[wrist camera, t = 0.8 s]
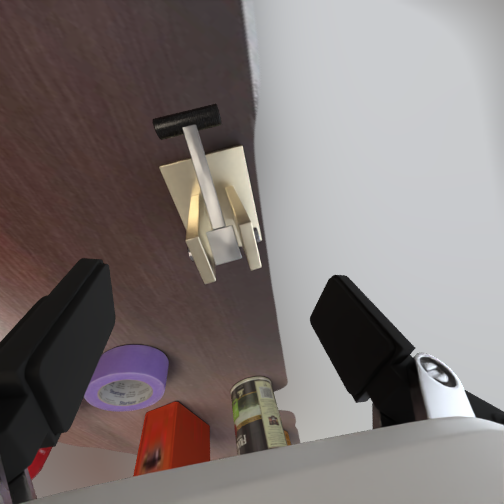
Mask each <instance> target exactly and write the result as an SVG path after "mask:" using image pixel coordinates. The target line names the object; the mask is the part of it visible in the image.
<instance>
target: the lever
mask: <svg viewBox="0 0 504 504" xmlns="http://www.w3.org/2000/svg"><path fill="white" fill-rule="evenodd" d="M153 125H154V128H155V131H156V133H157V135H158V137H159V138H160V139H161V140H163V139H167V138H171V137H175V136H179V135H183V134H184V136H185V139H186V142H187V146H188V149H189V152H190V156H191V159H192V162H193V166H194V169H195V172H196V175H197V179H198V182H199V185H200V189H201V192H202V195H203V198H204V202H205V205H206V208H207V212H208V215H209V218H210V222H211V225H212V228H213V230H212V231H208V232H206V235H207V238H208V242H209V245H210V248H211V251H212V255H213V258H214V261H215V264H216V265H220V264H223V263H227V262H230V261H234V260H237V259H241V258H242V256H241V252H240V249H239V246H238V242H237V239H236V235H235V232H234V228H233V225H230V226H226V224H225V221H224V217H223V214H222V210H221V207H220V204H219V200H218V197H217V193H216V190H215V186H214V183H213V180H212V176H211V173H210V169H209V166H208V163H207V159H206V156H205V152H204V149H203V146H202V142H201V139H200V135H199V132H198V131H199V130H203V129H207V128H211V127H215V126H219V125H221V118H220V114H219V110H218V107H217V104H213V105H209V106H204V107H200V108H196V109H192V110H188V111H184V112H180V113H176V114H171V115H167V116H163V117H159V118H155V119H153Z"/></svg>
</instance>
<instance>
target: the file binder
mask: <svg viewBox="0 0 504 504" xmlns="http://www.w3.org/2000/svg"><path fill="white" fill-rule="evenodd" d="M208 461H210V429H209V425H207V424H206V423H205V422H204V421H202V420H201V419H200V418H198V417H197V416H196V415H194V414H193V413H192V412H190V411H189V410H188V409H187V408H185V407H184V406H183V405H181V404H180V403H179V402H173V403H170V404H168V405H165V406H162V407H160V408H157V409H154V410H152V411H149V412H147V413H146V415H145V420H144V425H143V430H142V435H141V440H140V445H139V450H138V455H137V460H136V466H135V470H134V475H133V477H134V476H139V475H143V474H148V473H153V472H158V471H163V470H168V469H173V468H178V467H183V466H188V465H193V464H198V463H203V462H208Z"/></svg>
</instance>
